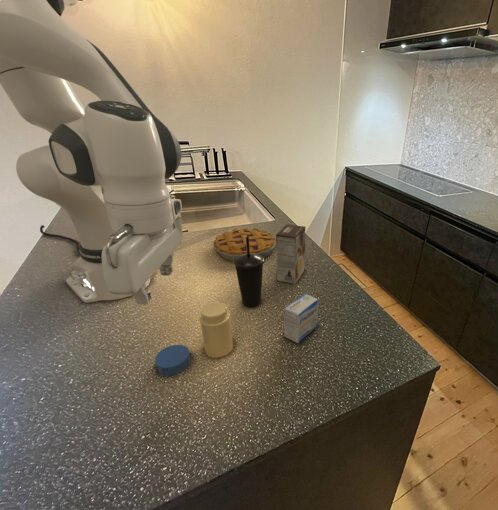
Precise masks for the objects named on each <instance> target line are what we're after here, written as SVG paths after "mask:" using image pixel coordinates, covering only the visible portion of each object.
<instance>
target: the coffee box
mask: <svg viewBox="0 0 498 510" xmlns="http://www.w3.org/2000/svg"><path fill="white" fill-rule="evenodd" d="M275 241H276V244H275V246H276V279H277V281H278V282H285V283H290V284H297V283H298V281H299V280H300V278H301V276H302V275H303V273H304V272H305V265H306V264H305V263H306V226H303V225H296V224H290V223H289V224H288V223H286V224H285V225H284V226H283V227H282V228H281V230H279V231H278V232H277V233H276V234H275Z"/></svg>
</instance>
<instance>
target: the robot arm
mask: <svg viewBox="0 0 498 510" xmlns="http://www.w3.org/2000/svg"><path fill="white" fill-rule="evenodd" d="M64 10H65V2H64V0H0V86H1V87H2V89H3V90H4V92H5V93H6V95H7V96H8V98H9V100H10V101H11V103H12V105H13V106H14V107H15V110H16V111H17V113H18V114H19V115H20V117H21V118H22V119H23V120H25V122H27V123H29V124H31V125H33V126H35V127H38V128H41V129H43V130H45V131H47V132H48V133H50V136H49V138H48V145H43V146H40V147H37V148H34V149H31V150H29V151H27V152H25V153H22V154H20V155H19V156H18V158H17V160H16V164H15V170H16V175H17V177H18V179H19V181H20V183H21V184H22V185H23V186H24V187H25V188H26V189H27V190H28V191H30V192H31V193H32V194H34V195H36V196H37V197H39V198H43V199H46V200H48V201H51V202H52V203H54V204H56V205H57V206H59V207H60V208H61V209H62V210H63V211H64V212H65V213H66V214H67V216H68V217H69V219H70V221H71V223H72V225H73V227H74V230H75V232H76V235H77V238H78V240H79V241H77V240H76V239H74V238H71V237H67V236H64V235H61V234H54V233H47V232H45V231H44V228H45V225H44V224H41V225H40V227H39V232H40V233H41V235H44V236H48V237H56V238H61V239H64V240H68V241H71V242H72V243H75V244H76V251H77V252H78V254H79V257H78V258H77V259H75V260H74V261H73V263H72V264H71V267H72V271H70V272H69V275H70V276H69V277H67V278H66V279H65V281H66V282H65V284H66V285H67V286H68V287H69V288H70V289H71V291H73V293H75V295H77V297H78V298H79V299H80V300H81V301H82V302H83V303H85V304H91V303H94V302H99V301H114V300H115V301H116V300H120V299H125V298H128V297H132V296H133V297H134V300H135V303H136V304H137V305H139V306H140V305H142V306H145V305H148V304H149V303H150V301H151V300H152V296H151V295H152V294H151V290H146V288H147V287H148V286H149V285H150V284H151V277H152V276H153V275H154V274H155V273H156V271H157V270H159V271H160V275H161V276H167V277H168V276H171V275H172V273H173V271H174V267H173V262H174V256H175V252H174V251H175V250H176V249H177V248H178V247H179V246H180V244H182V240H183V235H184V233H183V221H182V220H183V219H182V214H181V212H182V209H183V205H182V204H183V203H182V200H181V199H179V198H171V194H170V192H169V189H168V187H167V184H166V179H170V178H171V177H172V176H174V174H175V173H176V172H177V170H178V169H179V166H180V165H181V161H182V158H183V156H182V155H183V154H182V147H181V145H180V142H179V141H178V139H177V137H176V136H175V134H174V133H173V132H172V131H171V129H169V128H168V127H167V125H166V124H164V123H163V122H162V121H161V120H160V119H159V118H157V117H156V115H155V114H153V112H152V111H151V109H150V108H149V107H148V106H147V105H146V104H145V102H144V101H143V100H142V98H141V97H140V96H139V95H138V93H137V92H136V91H135V89H134V88H133V87H132V86H131V85H130V83H129V82H128V81H127V79H125V77H124V76H123V75H122V74H121V72H120V71H119V70H118V68H117V67H116V66H115V65H114V63H113V62H112V61H111V60H110V59H109V58H108V56H106V55H105V54H104V52H103V51H102V50H101V49H100V48H99V47H97V46H96V45H95V44H94V43H92V42H91V41H90V40H88V39H87V38H85V37H84V36H83V35H81V34H80V32H78V31H77V30H76V29H74V28H73V27H72V26H71V25H70V24H69V23H68V22H66V20H65V19H64V18H62V15H63V13H64ZM71 83H72V84H75V85H77V86H80V87H82V88H83V89H86V90H88V91H90V93H92V94H94V95H95V96H96V97H97V98H98V99H99V100H96V101H91V102H89V103H87V104H86V105H85V107H84V105H83V103H82V102H81V99H80V98H79V97H78V95H77V93H76V92H75V90H74V88H73V86H72V84H71Z"/></svg>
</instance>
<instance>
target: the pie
mask: <svg viewBox="0 0 498 510" xmlns="http://www.w3.org/2000/svg"><path fill="white" fill-rule="evenodd" d="M246 237H249V249H250V253H256V254H259V255H261V256H263V258H264V259H265V258H267V256H270V255H271V253H272V251H273V249H274V248H275V246H276V237H274V236H273V234H272V233H271V232H269V233H268V231H266V230H260V229H259V228H252V229H248V228H247V227H246V228H245V227H244V228H241V229H237V228H235V229H232V230H231V231H225V232H222V233H221V234H218V235H216V237H215V239H214V240H213V242H212V243H213V248H214V249H215V250H216V251H217V252H218V254H219V255H220V256H221V257H222V258H224V259H225V260H227V261H229V262H233V260H234V258H235V257H237V256H238V255H241V254H245V253H247V245H246Z"/></svg>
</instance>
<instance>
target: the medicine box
mask: <svg viewBox="0 0 498 510" xmlns="http://www.w3.org/2000/svg"><path fill="white" fill-rule="evenodd" d="M318 315H319V299H318V298H316V297H314V296H311V295H309V294H307V293H304V294H302V295H301V296H299V297H298V298H297V299H295V300H294V301H293V302H291V303H290V304H288V305H287V306H285V308H283V333H284V338H286V339H289V340H291V341H293V342H294V343H296V344H300V343H301V342H302V341H303V340H304V339H305V338H306V337H307V336H308V335H309V334H310V333H311V332H313V331H314V330H315V329H316V328H317V327H318Z"/></svg>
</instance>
